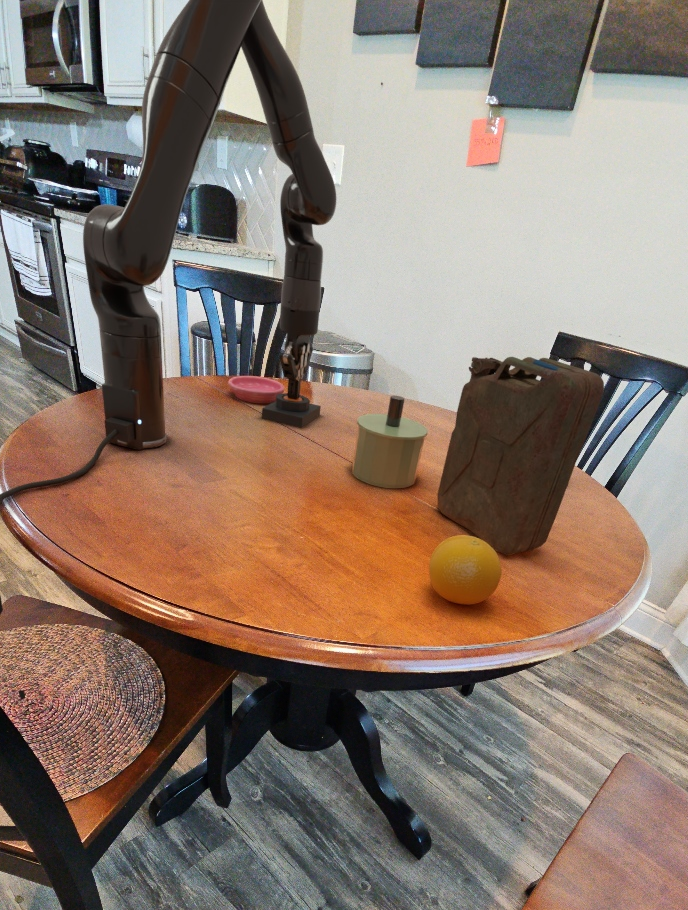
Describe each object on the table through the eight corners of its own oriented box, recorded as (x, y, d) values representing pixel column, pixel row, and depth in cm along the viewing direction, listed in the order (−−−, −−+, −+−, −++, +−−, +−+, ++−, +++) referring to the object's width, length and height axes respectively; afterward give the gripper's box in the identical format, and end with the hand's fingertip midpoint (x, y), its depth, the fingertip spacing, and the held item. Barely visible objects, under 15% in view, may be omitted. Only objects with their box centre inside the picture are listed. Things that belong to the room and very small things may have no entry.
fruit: (477, 581, 78) (494, 527, 74) (500, 616, 72) (520, 559, 67) (415, 579, 77) (428, 523, 72) (432, 614, 70) (448, 556, 66)
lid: (418, 449, 95) (425, 413, 91) (347, 432, 97) (352, 397, 93) (432, 430, 104) (439, 397, 101) (367, 415, 106) (372, 382, 103)
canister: (547, 553, 88) (615, 378, 74) (508, 562, 84) (571, 378, 69) (465, 502, 100) (510, 342, 86) (428, 507, 96) (467, 340, 82)
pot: (406, 493, 100) (417, 444, 95) (343, 477, 102) (350, 428, 97) (420, 473, 109) (430, 427, 104) (362, 458, 111) (369, 412, 106)
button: (297, 410, 122) (298, 402, 121) (279, 406, 123) (280, 398, 122) (304, 406, 125) (305, 398, 124) (287, 402, 126) (287, 394, 125)
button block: (301, 428, 120) (303, 408, 118) (261, 418, 122) (262, 398, 120) (319, 416, 129) (321, 397, 127) (282, 407, 131) (283, 388, 128)
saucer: (286, 408, 130) (287, 393, 129) (229, 403, 128) (229, 388, 126) (280, 392, 140) (281, 378, 138) (227, 387, 137) (227, 373, 135)
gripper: (295, 298, 119) (288, 388, 129) (268, 304, 108) (263, 401, 119) (329, 305, 117) (320, 395, 128) (306, 311, 107) (298, 409, 117)
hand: (293, 398), depth 123 cm, fingers closed
